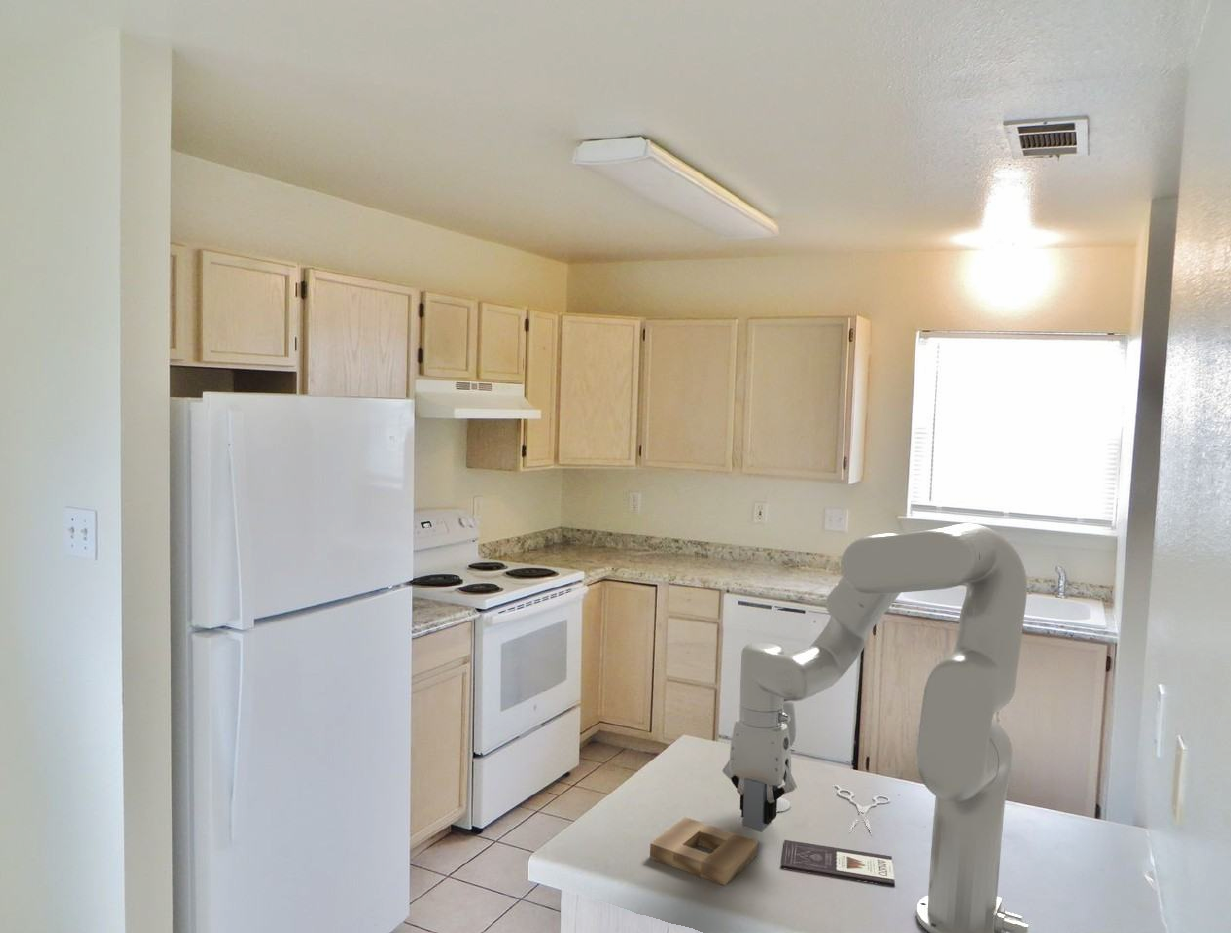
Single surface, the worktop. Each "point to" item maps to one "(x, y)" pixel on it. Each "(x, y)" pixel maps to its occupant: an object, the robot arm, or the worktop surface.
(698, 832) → the socket board
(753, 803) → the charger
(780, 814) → the worktop surface
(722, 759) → the worktop surface
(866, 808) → the scissors
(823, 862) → the chocolate bar
